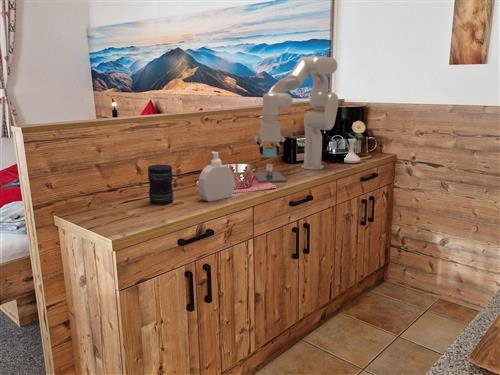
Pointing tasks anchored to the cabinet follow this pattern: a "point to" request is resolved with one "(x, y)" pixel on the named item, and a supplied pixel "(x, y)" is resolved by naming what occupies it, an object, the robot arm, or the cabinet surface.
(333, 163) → the cabinet surface
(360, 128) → the flower in vase
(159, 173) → the storage jar
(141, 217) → the cabinet surface
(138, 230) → the cabinet surface
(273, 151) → the ring
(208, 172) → the soap bottle
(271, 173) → the metal plate with knob
